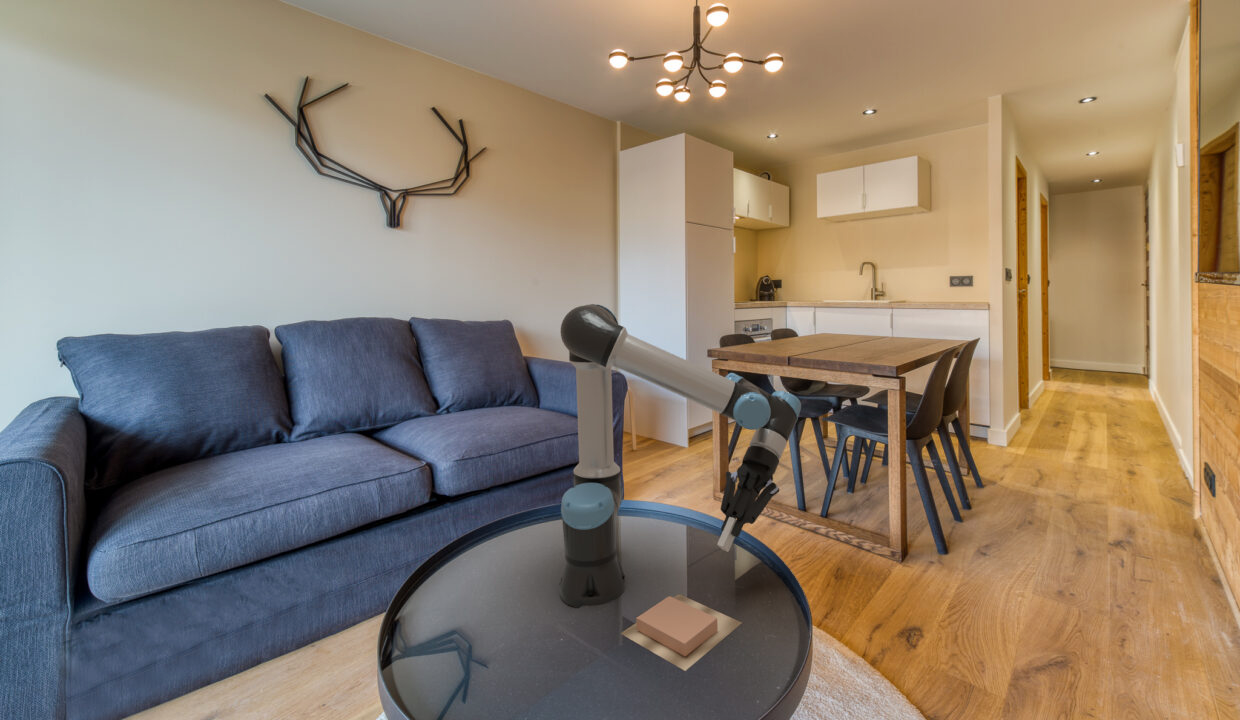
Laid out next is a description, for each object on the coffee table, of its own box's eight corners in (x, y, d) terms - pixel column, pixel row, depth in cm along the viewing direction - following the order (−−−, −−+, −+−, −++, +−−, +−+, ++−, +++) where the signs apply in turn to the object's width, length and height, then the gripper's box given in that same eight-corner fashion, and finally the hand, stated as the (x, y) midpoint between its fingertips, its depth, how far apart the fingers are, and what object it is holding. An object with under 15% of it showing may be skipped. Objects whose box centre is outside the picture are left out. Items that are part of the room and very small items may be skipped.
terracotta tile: (670, 608, 112) (637, 631, 105) (669, 595, 111) (636, 617, 104) (717, 631, 103) (685, 658, 96) (717, 618, 103) (684, 643, 96)
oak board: (620, 637, 105) (620, 633, 104) (679, 597, 117) (678, 594, 117) (685, 675, 93) (685, 670, 93) (742, 626, 106) (742, 622, 106)
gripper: (796, 467, 120) (756, 565, 110) (746, 456, 129) (705, 546, 120) (784, 449, 115) (742, 550, 106) (733, 439, 125) (690, 531, 115)
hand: (722, 548), depth 113 cm, fingers closed
